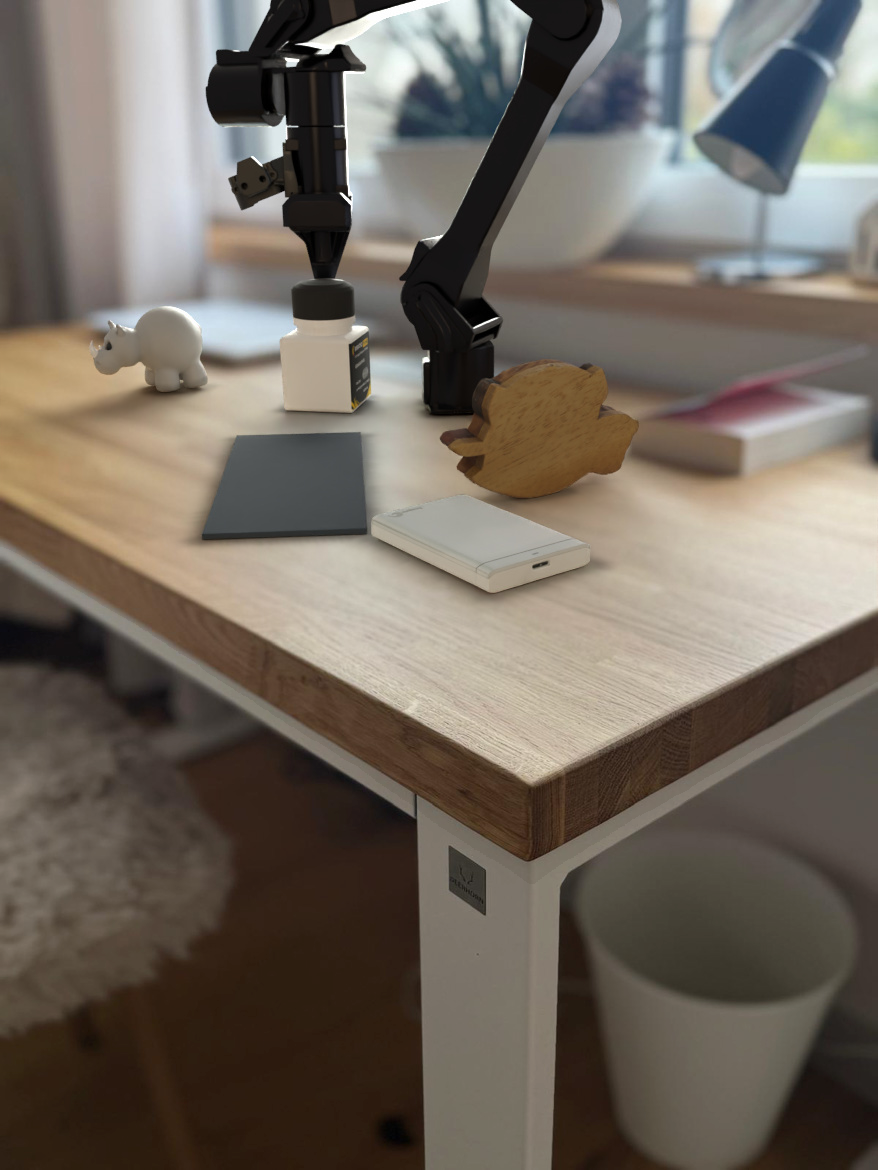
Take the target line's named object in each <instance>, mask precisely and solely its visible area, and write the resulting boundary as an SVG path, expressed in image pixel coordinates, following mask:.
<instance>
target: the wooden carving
mask: <svg viewBox="0 0 878 1170" xmlns="http://www.w3.org/2000/svg"><path fill="white" fill-rule="evenodd" d="M608 395H609V385H608V381H607V378H606V372H605V370H604V369H603V368H602V367H601V366H599V365H596V364H595V365H594V364H592V363H590V362H588V363H583V364H581V365H580V366H579V367H578V366H576V365H574V364H572V363H569V362H567V361H564V360H561V359H560V360H559V359H555V358H542V359H537V360H534V361H533V360H531V361H528V362H525V363H520V364H518V365H517V366H511V367H510V368H508V369H505V370H502V371H500V372H499V373H498V374H497V375H494V377H493V378H491V379H487V378H484V379H482V380H481V381H480V382H479V383H478V385H477V387H476V389H475V391H474V393H473V397H472V408H473V410H474V413H473V415H472V417H471V420H470V423H469V425H468V426H467V427H465V428H464V427H463V428H457V429H449V430H445V431H444V432H442V434H441V435H440V436H439V441H440V442H441V443H442V444H443V445H444V446H446V447H447V449H448V450H449V451H451V452H452V453H453V454H455V455H457V456H460V457H461V458H460V459H459V460H458V463H457V464H456V470H457V471H458V472H460V473H461V474H462V475H463V476H464V477H465V478H466V479H467V480H469V481H470V482H471V483H472V484H474V485H477V486H478V487H479V488H481V489H484V490H487V491H490V492H492V493H496V494H499V495H502V496H506V497H512V498H516V499H533V498H540V497H544V496H548V495H553V494H555V493H558V492H560V491H563V490H565V489H566V488H568V487H571V486H572V485H574V484H576V482H578V481H580V480H581V479H582V478H584V477H585V476H587V475H588V474H596V475H601V476H608V475H610V474H614V473H616V472H618V471H619V470H621V469H622V466H623V462H624V460H625V459H626V458H625V457H626V453H627V451H628V449H629V447H630V446H631V443H632V441H633V438H634V436H635V434H637V433H638V431H639V428H640V423H639V422H640V421H639V420H638V419H637V418H636V417H633V416H630V415H629V414H627V413H625V412H623V411H620V410H617V409H615V408H613V407H611V406H609V405H608V404H607V405H606V404H604V402H605V401H606V400H607V398H608Z"/></svg>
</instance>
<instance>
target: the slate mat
mask: <svg viewBox="0 0 878 1170" xmlns="http://www.w3.org/2000/svg"><path fill="white" fill-rule="evenodd" d="M363 461H364V460H363V445H362V433H361V431H350V432H349V431H346V432H345V431H344V432H343V431H341V432H308V433H305V432H303V433H275V434H272V433H271V434H238V435H237V434H236V437H235V440H234V442H233V444H232V448H231V450H230V454H229V456H228V459H227V462H226V465H225V468H224V471H223V474H222V475H221V478H220V481H219V484H218V487H217V490H216V493H215V496H214V499H213V501H212V504H211V508H210V510H209V513H208V515H207V518H206V522H205V524H204V527H203V529H202V532H201V540H223V539H224V540H225V539H227V540H229V539H250V538H283V537H284V538H285V537H309V536H312V537H313V536H336V535H337V536H339V535H341V536H342V535H365V534H366V535H367V534H368V524H367V523H368V522H367V507H366V494H365V493H366V492H365V478H364V477H365V476H364V466H363V465H364V463H363Z"/></svg>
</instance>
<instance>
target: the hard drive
mask: <svg viewBox="0 0 878 1170" xmlns="http://www.w3.org/2000/svg"><path fill="white" fill-rule="evenodd" d="M370 523H371V524H370V528H371V529H370V531H371V536H372V537H373V538H376V539H378V540H380V541H382V542H385V543H387V544H388V545H390V546H393V547H394V548H397V549H399V550H401V551H403V552H404V553H407V554H409V555H411V556H413V557H415V558H417V559H419V560H421V561H424V562H426V563H428V564H430V565H432V566H434V567H436V568H438V569H440V570H442V571H445V572H447V573H449V574H451V575H453V576H454V577H457V578H459V579H461V580H462V581H464V582H467V583H469V584H471V585H473V586H475V587H477V588H479V589H482V590H483V591H484V592H485V591H486V592H487V593H491V594H494V593H495V594H496V593H500V592H502V591H506V590H509V589H512V588H516V587H519V586H522V585H525V584H529V583H532V582H535V581H538V580H542V579H545V578H548V577H552V576H555V575H558V574H562V573H565V572H568V571H572V570H575V569H580V568H582V567H585V566H587V564H589V563H590V562H591V544H590V543H586V542H585V541H582V540H579V539H577V538H575V537H573V536H570V535H567V534H565V533H562V532H559V531H557V530H555V529H553V528H550V527H547V526H545V525H544V524H543V525H542V524H540V523H538V522H535V521H533V520H530V519H528V518H526V517H523V516H522V515H521V516H520V515H519V514H516V513H513V512H510V511H507V510H505V509H502V508H500V507H498V506H495V505H493V504H491V503H488V502H486V501H483V500H481V499H478V498H476V497H473V496H470V495H468V494H464V493H463V494H458V495H453V496H449V497H445V498H441V499H437V500H432V501H428V502H425V503H424V502H423V503H421V504H416V505H412V506H409V507H404V508H399V509H396V510H391V511H388V512H383V513H379V514H377V515H375V516H373V517H372V518H371V522H370Z"/></svg>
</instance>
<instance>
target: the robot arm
mask: <svg viewBox="0 0 878 1170" xmlns="http://www.w3.org/2000/svg"><path fill="white" fill-rule="evenodd" d="M448 1H449V0H270V3H269V9H268V11H267V12H266V14H265V16H264V18H263V20H262V22H261V24H260V27H259V28H258V30H257V32H256V34H255V36H254V38H253V40H252V42H251V44H250V46H249V48H248V50H237V49H236V50H235V49H227V48H221V49H220V48H219V49H216V51H215V59H216V63H215V64H214V65H213V66H212V68H211V70H210V72H209V75H208V78H207V84H206V85H207V86H205V99H206V105H207V109H208V111H209V113H210V115H211V118H212V119H213V120H214V122H215V123H216V124H217V125H218V126H220V127H222V128H266V127H267V128H275V127H277V126H279V125H280V124H281V123H282V121H283V119H284V118H285V126H286V127H285V131H286V132H285V133H286V138H285V139H284V141H283V142H282V145H281V146H282V147H281V148H282V156H279V157H277V158H274V159H271V160H269V161H266V162H264V163H261V162H260V161H258V159H257V158H255V156H249V157H247V158H244V159H242V160H239V161H237V162H236V174H235V175H231V176H229V177H227V180H228V183H229V185H230V187H231V190H230V191H231V192H232V194H234V197H235V199H236V202H237V204H238V206H239V209H240V211H245V210H247V209H250V208H252V207H254V206H255V205H256V204H259V202H261V201H264V200H267V199H269V198H271V197H274V196H276V195H279V194H281V193H283V192H284V198H287V199H286V200H285V201H284V203H283V204H282V205H281V210H282V211H281V213H282V227H284V228H288V229H289V230H290V231H291V232H292V233H294V234H295V235H296V237H298V238H299V239H300V240H301V241H302V242H303V243H304V245H305V248H306V251H307V256H308V260H309V264H310V267H311V272H312V275H313V279H336V277H337V274H338V270H339V267H340V264H341V262H342V257H343V254H344V252H345V248H346V246H347V242H348V240H349V236H350V234H351V230H352V227H353V193H352V192H351V191H350V182H349V156H348V155H349V154H348V152H349V151H348V150H349V149H348V127H347V99H346V98H347V97H346V74H364V73H366V72H367V69H368V67H367V65H366V64H365V62H363V61H362V60H361V59H360V58H359V57H358V56H357V55H356V54H355V53H354V52H353V50H352V48H351V46H350V45H348V44H345V43H346V42H348V41H350V40H353V39H354V38H356V37H358V36H360V35H362V34H364V32H366V31H367V30H369V29H370V28H371V27H372V26H373V25H375V24H377V23H378V22H381V21H382V20H384V19H386V18H389V17H393V16H397V15H401V14H403V13H404V14H405V13H408V12H411V11H415V10H419V9H423V8H427V7H430V6H434V5H437V4H441V3H445V2H448ZM509 1H510V2H511V3H512V4H513V5H514V6H515V7H516V8H517V9H519V10H520V11H522V12H523V13H524V14H525V15H527V16H528V17H529V18H531V22H530V26H529V28H528V31H527V35H526V37H525V43H524V48H523V49H524V50H523V57H522V65H521V70H520V71H521V72H520V78H519V80H518V83H517V86H516V88H515V90H514V92H513V93H512V96H511V98H510V101H509V102H508V104H507V107H506V108H505V111H504V113H503V116H502V117H501V119H500V121H499V123H498V125H497V127H496V129H495V132H494V134H493V136H492V137H491V139H490V142H489V143H488V146H487V148H486V150H485V152H484V154H483V156H482V159H481V161H480V163H479V165H478V167H477V169H476V170H475V172H474V175H473V177H472V179H471V181H470V183H469V186H468V187H467V189H466V191H465V194H464V196H463V198H462V200H461V202H460V203H459V206H458V208H457V210H456V212H455V214H454V217H453V219H452V220H451V223H450V225H449V227H448V229H447V230H446V231H445V232H444V233H443V234H442V235H440V236H439V235H438V236H435V237H430V238H425V239H420V240H418V241H417V243H416V245H415V247H414V250H413V253H412V257H411V259H410V263H409V266H408V267H407V269H406V270H405V272H403V274H401V275H400V276H399V278H398V280H399V282H404V283H403V285H402V287H401V291H400V294H399V295H400V296H399V303H400V304H401V307H402V310H403V313H404V316H405V317H406V319H407V321H408V322H409V323H410V324H411V325H413V327H414V331H415V334H416V337H417V340H418V342H419V345H420V348H421V350H422V351H426V352H427V353H426V354H427V355H426V357H422V359H421V399H422V403H423V404H424V405H425V406H427V409H428V411H429V414H430V415H451V414H455V415H456V414H474V410H473V408H472V397H473V393H474V391H475V389H476V387H477V385H478V383H479V382H480V381H481V380H482V379H484V378H487V379H491V378H493V377H495V344H494V343H493V342H492V340H495V339H497V338H498V337H499V334H500V331H501V328H502V326H503V323H504V318H503V316H502V315H501V314H500V313H499V312H498V311H497V310H496V308H494V306H493V305H492V304H491V303H490V302H489V301H488V299H486V297H485V296H484V295H483V293H484V290H485V288H486V284H487V280H488V277H489V273H490V272H489V271H490V264H491V257H492V256H491V255H492V250H493V247H494V244H495V242H496V240H497V238H498V236H499V233H500V232H501V231H502V229H503V226H504V224H505V222H506V220H507V218H508V216H509V214H510V212H511V211H512V208H513V206H514V204H515V203H516V200H517V199H518V197H519V195H520V193H521V191H522V188H523V187H524V185H525V183H526V181H527V179H528V177H529V175H530V173H531V172H532V169H533V167H534V165H535V164H536V161H537V160H538V158H539V155H540V153H541V152H542V149H543V148H544V146H545V144H546V142H547V140H548V138H549V135H550V134H551V132H552V130H553V128H554V126H555V124H556V122H557V120H558V118H559V116H560V114H561V112H562V110H563V108H564V107H565V105H566V103H567V102H568V101H569V100H570V98H572V96H573V95H574V94H575V93H576V92H577V91H578V90H579V89H580V88H581V87H582V86H583V84H584V83H585V82H586V81H587V80H588V79H589V78H590V77H591V76H592V75H593V73H594V72H595V71H596V70H597V68H598V66H599V65H600V64H601V62H602V61H603V59H604V58H605V57H606V56H607V54H608V53H609V51H610V50H611V48H613V46H614V45H615V43H616V42H617V40H618V38H619V36H620V32H621V29H622V23H623V22H622V21H623V19H622V15H621V10H620V5H619V3H618V1H617V0H509ZM323 49H324V50H326V49H332V50H331V51H330V52H329V53H320V52H321V51H322V50H323ZM288 62H294V63H296V62H297V63H296V65H295V66H288Z"/></svg>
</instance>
